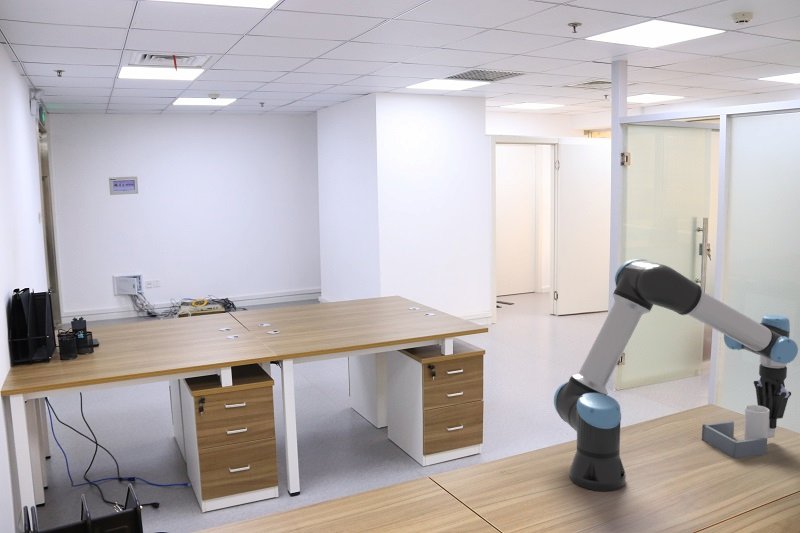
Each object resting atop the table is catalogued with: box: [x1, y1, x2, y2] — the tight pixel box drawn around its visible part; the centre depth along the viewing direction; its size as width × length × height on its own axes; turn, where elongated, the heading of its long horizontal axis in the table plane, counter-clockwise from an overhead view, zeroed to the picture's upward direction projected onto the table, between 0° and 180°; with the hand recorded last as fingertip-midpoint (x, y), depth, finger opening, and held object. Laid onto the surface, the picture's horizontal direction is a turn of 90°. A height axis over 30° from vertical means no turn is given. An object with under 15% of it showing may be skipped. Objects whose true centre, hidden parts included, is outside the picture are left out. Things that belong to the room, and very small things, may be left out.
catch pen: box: [701, 420, 768, 460], centre depth 207 cm, size 11×15×5 cm
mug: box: [743, 404, 769, 440], centre depth 208 cm, size 10×7×12 cm, turn 144°
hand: (768, 436), depth 210 cm, fingers closed
